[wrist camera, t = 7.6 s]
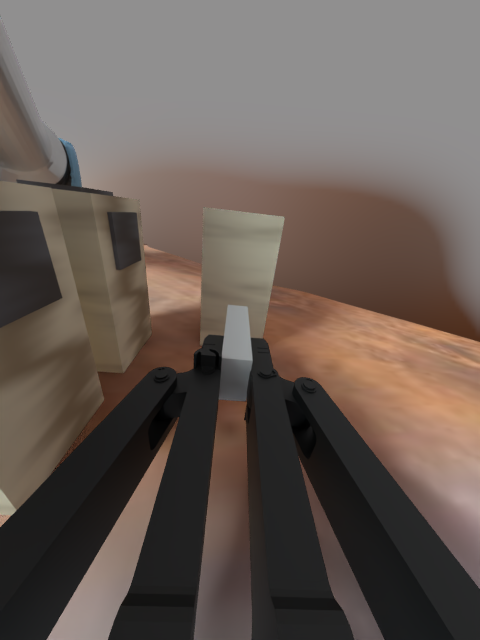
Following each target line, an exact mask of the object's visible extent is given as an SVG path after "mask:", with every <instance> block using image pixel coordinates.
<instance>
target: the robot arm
mask: <svg viewBox="0 0 480 640" xmlns="http://www.w3.org/2000/svg"><path fill="white" fill-rule="evenodd" d="M16 179H18V180H26V181H35V182H43V183H51V184H60V185H68V186H76V187H82V185H81V177H80V171H79V165H78V160H77V155H76V152H75V149H74V147H73V146H72V145H71V143H69V142H67V141H64V140H62V139H61V138H58V137H57V136H56V134H55V133H54V132H53V131H52V130H51V129H50V128H49V127H48V125H46V124H45V123H44V122H43V121H42V120H41V118H40V116H39V113H38V110H37V108H36V105H35V103H34V101H33V98H32V95H31V93H30V90H29V88H28V85H27V83H26V80H25V77H24V75H23V72H22V70H21V67H20V65H19V62H18V60H17V57H16V54H15V52H14V50H13V47H12V44H11V42H10V39H9V37H8V34H7V32H6V29H5V26H4V24H3V21H2V19H1V16H0V181H5V182H13V183H17V181H16ZM246 398H247V406H246V412H245V418H244V420H246V431H247V464H248V496H249V528H250V560H251V592H252V639H251V640H354V638H353V635H352V631H351V628H350V625H349V623H348V621H347V618H346V616H345V614H344V611H343V610H342V608H341V607H340V606H339V604H338V603H337V601H336V600H335V599H334V596H333V594H332V592H331V588H330V585H329V582H328V577H327V573H326V569H325V565H324V561H323V557H322V553H321V548H320V544H319V540H318V536H317V532H316V528H315V524H314V519H313V515H312V511H311V507H310V503H309V499H308V495H307V490H306V486H305V482H304V478H303V474H302V470H301V466H300V461H299V458H300V460H301V462H302V465H303V467H304V469H305V471H306V473H307V475H308V477H309V479H310V482H311V484H312V486H313V488H314V490H315V492H316V494H317V496H318V499H319V501H320V503H321V505H322V507H323V509H324V511H325V514H326V516H327V518H328V520H329V522H330V524H331V526H332V528H333V531H334V533H335V535H336V537H337V539H338V541H339V543H340V545H341V548H342V550H343V552H344V554H345V556H346V558H347V560H348V562H349V565H350V567H351V569H352V571H353V573H354V575H355V577H356V580H357V582H358V584H359V586H360V588H361V590H362V592H363V594H364V597H365V599H366V601H367V603H368V605H369V607H370V609H371V611H372V614H373V616H374V618H375V620H376V622H377V624H378V626H379V629H380V631H381V633H382V635H383V637H384V639H385V640H480V589H479V588H478V586H477V585H476V584H475V583H474V581H473V580H472V579H471V577H470V576H469V575H468V574H467V572H466V571H465V570H464V568H463V567H462V566H461V565H460V563H459V562H458V561H457V559H456V558H455V557H454V556H453V554H452V553H451V552H450V550H449V549H448V548H447V547H446V545H445V544H444V543H443V541H442V540H441V539H440V538H439V536H438V535H437V534H436V533H435V531H434V530H433V529H432V527H431V526H430V525H429V524H428V522H427V521H426V520H425V518H424V517H423V516H422V515H421V513H420V512H419V511H418V509H417V508H416V507H415V506H414V504H413V503H412V502H411V500H410V499H409V498H408V497H407V495H406V494H405V493H404V491H403V490H402V489H401V488H400V486H399V485H398V484H397V482H396V481H395V480H394V479H393V477H392V476H391V475H390V474H389V472H388V471H387V470H386V468H385V467H384V466H383V465H382V463H381V462H380V461H379V459H378V458H377V457H376V456H375V454H374V453H373V452H372V450H371V449H370V448H369V447H368V445H367V444H366V443H365V441H364V440H363V439H362V438H361V436H360V435H359V434H358V432H357V431H356V430H355V429H354V427H353V426H352V425H351V424H350V422H349V421H348V420H347V418H346V417H345V416H344V415H343V413H342V412H341V411H340V409H339V408H338V407H337V406H336V404H335V403H334V402H333V400H332V399H331V398H330V397H329V395H328V394H327V393H326V391H325V390H324V389H323V388H322V386H321V385H320V384H319V383H318V382H316V381H315V380H313V379H310V378H306V377H301V378H298V379H297V380H296V381H295V383H294V382H291V381H288V380H285V379H283V378H281V377H279V375H278V373H277V371H276V370H275V369H274V368H273V364H272V360H271V355H270V351H269V346H268V343H267V342H266V341H265V340H264V339H261V338H251V337H250V327H249V316H248V307H247V306H237V305H228V308H227V316H226V324H225V332H224V336H221V335H210V334H209V335H208V336H207V337H205V338H204V342H203V345H202V348H201V349H199V350H197V351H196V352H195V353H194V369H192V370H190V371H188V372H184V373H178V374H176V371H175V370H174V369H172V368H170V367H159V368H156V369H153V370H152V371H150V372H149V373H148V374H147V375H146V376H145V377H144V378H143V379H142V380H141V381H140V382H139V383H138V384H137V385H136V386H135V388H134V389H133V390H132V391H131V392H130V393H129V394H128V395H127V396H126V397H125V398H124V399H123V400H122V401H121V402H120V403H119V404H118V405H117V406H116V407H115V408H114V409H113V410H112V411H111V413H110V414H109V415H108V416H107V417H106V418H105V419H104V420H103V421H102V422H101V423H100V424H99V425H98V426H97V427H96V428H95V429H94V430H93V431H92V432H91V433H90V434H89V435H88V436H87V438H86V439H85V440H84V441H83V442H82V443H81V444H80V445H79V446H78V447H77V448H76V449H75V450H74V451H73V452H72V453H71V454H70V455H69V456H68V457H67V458H66V459H65V460H64V461H63V463H62V464H61V465H60V466H59V467H58V468H57V469H56V470H55V471H54V472H53V473H52V474H51V475H50V476H49V477H48V478H47V479H46V480H45V481H44V482H43V483H42V484H41V485H40V486H39V488H38V489H37V490H36V491H35V492H34V493H33V494H32V495H31V496H30V497H29V498H28V499H27V500H26V501H25V502H24V503H23V504H22V505H21V506H20V507H19V508H18V509H17V510H16V511H15V513H14V514H13V515H12V516H11V517H10V518H9V519H8V520H7V521H6V522H5V523H4V524H3V525H2V526H1V527H0V640H46V639H47V638H48V636H49V634H50V633H51V631H52V629H53V628H54V626H55V624H56V623H57V621H58V619H59V617H60V616H61V614H62V612H63V611H64V609H65V607H66V606H67V604H68V602H69V601H70V599H71V597H72V596H73V594H74V592H75V590H76V589H77V587H78V585H79V584H80V582H81V580H82V579H83V577H84V575H85V574H86V572H87V570H88V569H89V567H90V565H91V564H92V562H93V560H94V558H95V557H96V555H97V553H98V552H99V550H100V548H101V547H102V545H103V543H104V542H105V540H106V538H107V537H108V535H109V533H110V531H111V530H112V528H113V526H114V525H115V523H116V521H117V520H118V518H119V516H120V515H121V513H122V511H123V510H124V508H125V506H126V504H127V503H128V501H129V499H130V498H131V496H132V494H133V493H134V491H135V489H136V488H137V486H138V484H139V483H140V481H141V479H142V478H143V476H144V474H145V472H146V471H147V469H148V467H149V466H150V464H151V462H152V461H153V459H154V457H155V456H156V454H157V452H158V451H159V449H160V447H161V445H162V444H163V442H164V440H165V439H166V437H167V435H168V434H169V432H170V430H171V429H172V427H173V425H174V424H175V422H176V420H177V418H178V417H180V418H179V421H178V424H177V428H176V431H175V435H174V438H173V442H172V445H171V449H170V452H169V456H168V459H167V463H166V466H165V469H164V473H163V476H162V480H161V483H160V487H159V490H158V494H157V497H156V501H155V504H154V508H153V511H152V515H151V518H150V521H149V525H148V528H147V532H146V535H145V539H144V542H143V546H142V549H141V553H140V556H139V560H138V563H137V566H136V570H135V573H134V577H133V580H132V583H131V586H130V589H129V591H128V594H127V595H126V597H125V599H124V600H123V602H122V604H121V606H120V608H119V610H118V613H117V615H116V618H115V620H114V623H113V626H112V629H111V632H110V635H109V638H108V640H194V629H195V619H196V609H197V600H198V591H199V581H200V572H201V562H202V553H203V543H204V534H205V524H206V515H207V505H208V496H209V487H210V477H211V468H212V458H213V449H214V439H215V430H216V420H217V411H218V400H232V401H246ZM298 456H299V457H298Z"/></svg>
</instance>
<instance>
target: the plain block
mask: <svg viewBox="0 0 480 640" xmlns="http://www.w3.org/2000/svg"><path fill="white" fill-rule="evenodd" d="M284 218H285V217H280V216H271V215H264V214H254V213H247V212H238V211H230V210H221V209H213V208H205V207H204V208H203V241H202V281H201V321H200V345H201V346H202V345H203V342H204V338H205V337H207V336H208V335H209V334H210V335H221V336H224V332H225V324H226V316H227V308H228V305H237V306H247V307H248V316H249V327H250V337H251V338H261V339H263V334H264V329H265V323H266V318H267V312H268V307H269V301H270V296H271V290H272V284H273V279H274V274H275V268H276V262H277V257H278V251H279V246H280V240H281V235H282V229H283V224H284Z"/></svg>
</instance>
